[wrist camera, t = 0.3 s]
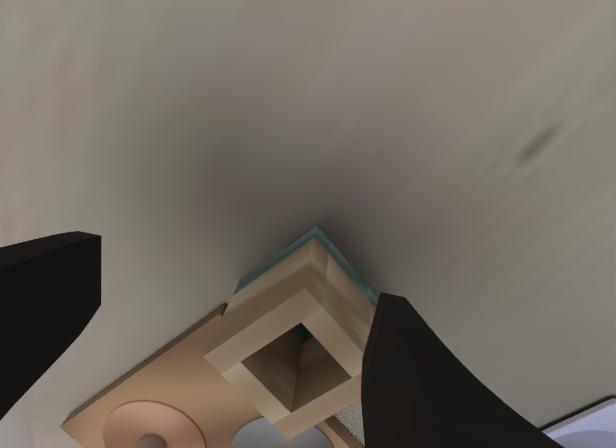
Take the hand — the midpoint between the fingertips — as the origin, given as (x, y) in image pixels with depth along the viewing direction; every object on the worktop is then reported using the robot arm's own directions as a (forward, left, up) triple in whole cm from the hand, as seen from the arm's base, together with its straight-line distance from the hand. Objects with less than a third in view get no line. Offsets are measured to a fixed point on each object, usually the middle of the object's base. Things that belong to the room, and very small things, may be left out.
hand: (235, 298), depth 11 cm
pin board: (-9, +13, -10) cm, 19 cm away
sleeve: (-5, +3, -10) cm, 11 cm away
